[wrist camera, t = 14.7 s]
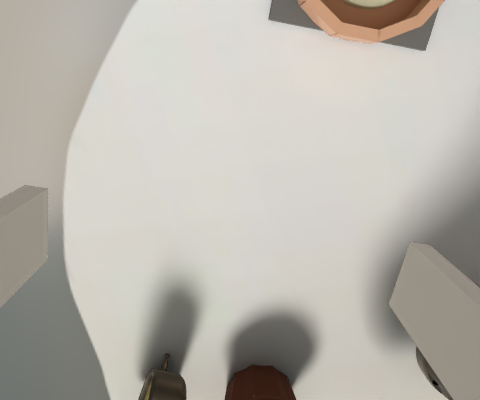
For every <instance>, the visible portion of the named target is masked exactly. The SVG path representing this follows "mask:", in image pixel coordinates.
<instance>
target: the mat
mask: <svg viewBox="0 0 480 400" xmlns="http://www.w3.org/2000/svg"><path fill="white" fill-rule="evenodd" d="M438 9H439V7H438ZM438 9H437V10H436V11H435V12H434V13H433V14H432V15H431V16H430V17H429V19H428V20H427V21H426V22H425V23H424V24H423V25H422V26H421V27H418V28H415V29H413V30H410V31H407V32H405V33H402V34H399V35H397V36H394V37H392V38H389V39H386V40H384V41H381V42H382V43H387V44H392V45H397V46H401V47H406V48H411V49H416V50H421V51H425V50H426V47H427V44H428V41H429V38H430V35H431V31H432V28H433V25H434V22H435V19H436V15H437V12H438ZM269 20H272V21H277V22H282V23H287V24H292V25H297V26H302V27H307V28H312V29H317V30H322V29H321V28H320V27H318V26H317V25H316V24H315V23H314V22H313V21H312V20H311V19H310V18H309V17H308V16H307V14H306V13H305V11H304V10H303V9H302V8H301V7H300V5H299V3H298V0H272V3H271V9H270V14H269ZM322 31H324V30H322Z"/></svg>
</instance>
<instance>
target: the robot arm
mask: <svg viewBox="0 0 480 400" xmlns="http://www.w3.org/2000/svg"><path fill="white" fill-rule="evenodd" d="M47 259H48V189H47V188H41V187H34V186H27V185H24V186H22V187H21V188H19V189H17V190H15V191H14V192H12V193H10V194H8V195H6V196H5V197H3V198H1V199H0V308H1V307H2V306H3V305H4V303H5V302H6V301H7V300H8V299H9V298H10V297H11V296H12V295H13V294H14V293H15V292H16V291H17V290H18V289H19V288H20V287H21V286H22V285H23V284H24V283H25V282H26V281H27V280H28V279H29V278H30V277H31V276H32V275H33V274H34V273H35V272H36V271H37V270H38V269H39V268H40V267H41V266H42V265H43V264H44V262H45V261H46V260H47ZM389 306H390V307H391V309H392V310H393V312H394V313H395V315H396V316H397V318H398V319H399V321H400V322H401V324H402V325H403V327H404V328H405V329H406V331H407V332H408V334H409V335H410V337H411V338H412V340H413V341H414V343H415V344H416V346H417V348H416V356H417V361H418V364H419V367H420V368H421V370H422V372H423V373H424V375H425V376H426V378H427V379H428V381H429V382H430V383H431V385H432V386H433V387H434V388H435V389H437V390H438V391H439V392H440V393H442V394H443V395H444V396H445V397H446V398H448V399H449V400H480V288H479V287H478V286H477V285H476V284H475V283H473V282H472V281H471V280H470V279H469V278H468V277H466V276H465V275H464V274H463V273H462V272H461V271H460V270H458V269H457V268H456V267H455V266H454V265H453V264H451V263H450V262H449V261H448V260H447V259H446V258H444V257H443V256H442V255H441V254H440V253H439V252H438V251H436V250H435V249H434V248H433V247H432V246H431V245H428V244H421V243H414V242H410V244H409V247H408V250H407V253H406V256H405V259H404V261H403V264H402V267H401V270H400V273H399V276H398V279H397V282H396V285H395V288H394V290H393V293H392V296H391V299H390V302H389Z"/></svg>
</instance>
